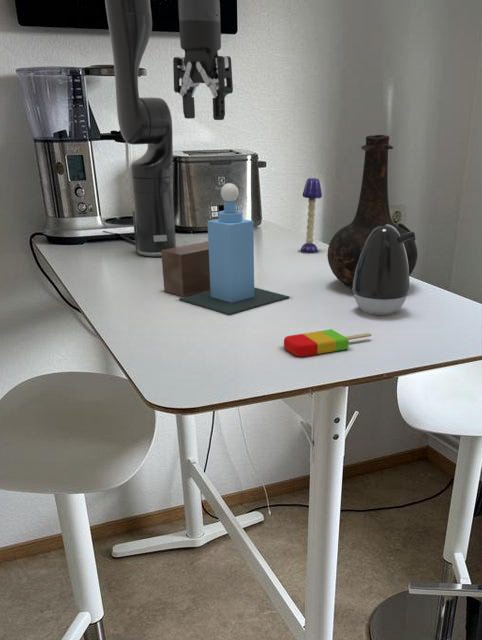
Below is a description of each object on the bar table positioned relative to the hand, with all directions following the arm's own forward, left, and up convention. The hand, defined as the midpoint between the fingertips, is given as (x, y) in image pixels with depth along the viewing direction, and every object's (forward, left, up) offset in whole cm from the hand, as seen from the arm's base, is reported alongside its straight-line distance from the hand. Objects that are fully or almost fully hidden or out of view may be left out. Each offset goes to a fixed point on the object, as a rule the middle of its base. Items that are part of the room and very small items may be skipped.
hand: (203, 119), depth 135 cm
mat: (+17, -9, -30) cm, 36 cm away
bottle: (+12, -9, -29) cm, 33 cm away
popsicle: (+48, -17, -30) cm, 59 cm away
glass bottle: (+30, +17, -30) cm, 46 cm away
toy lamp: (-1, +34, -30) cm, 46 cm away
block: (+6, -9, -30) cm, 32 cm away
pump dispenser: (+42, +4, -30) cm, 52 cm away
